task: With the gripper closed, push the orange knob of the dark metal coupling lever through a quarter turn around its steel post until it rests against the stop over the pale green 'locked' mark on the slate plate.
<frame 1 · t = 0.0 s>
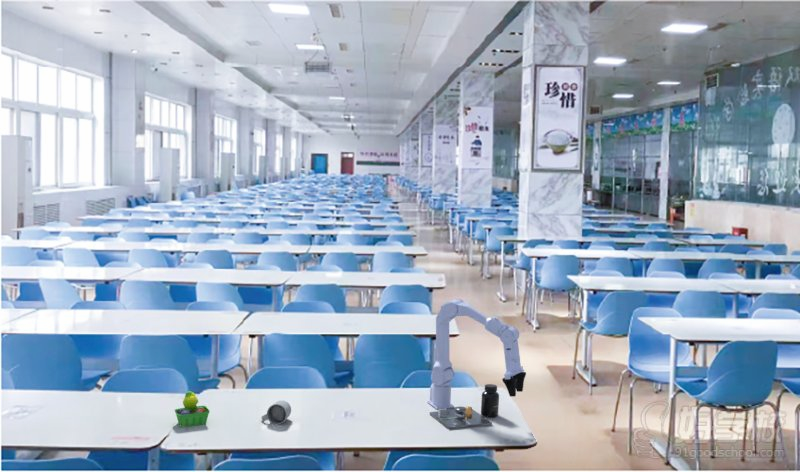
hand: (516, 393, 300), 11 cm above the table, tool pointing down, fingers open, 7 cm apart
ceramic mug: (275, 421, 291), on the table
fruit basket: (191, 423, 286), on the table
supplement bottle: (489, 415, 306), on the table
coupling: (464, 409, 296), point 5 cm above the table, hinge at 0.0°
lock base: (460, 419, 299), on the table
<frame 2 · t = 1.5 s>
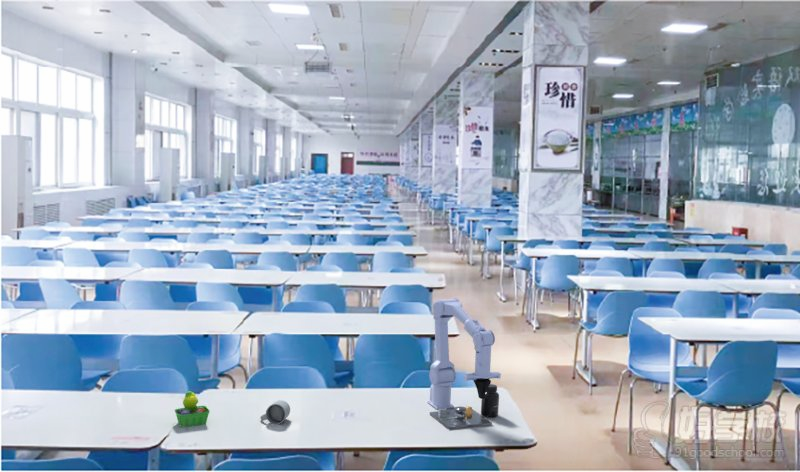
hand: (481, 397, 294), 10 cm above the table, tool pointing down, fingers closed
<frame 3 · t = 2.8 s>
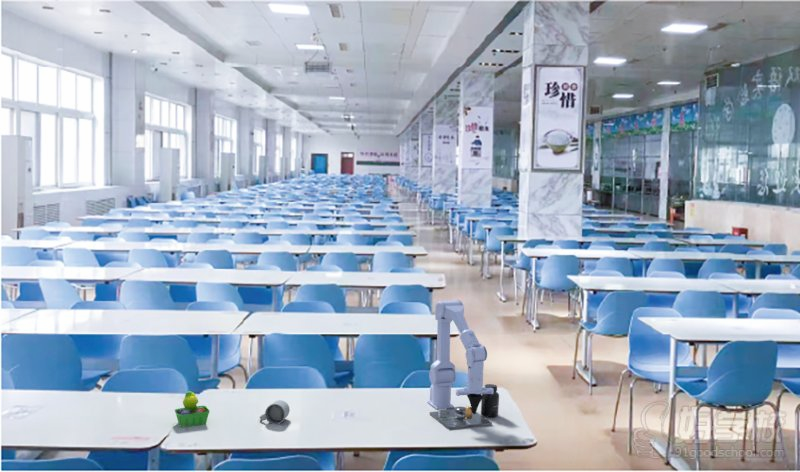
hand: (473, 413, 293), 5 cm above the table, tool pointing down, fingers closed, pressing on coupling
coupling: (464, 409, 296), point 5 cm above the table, hinge at 0.2°, touching gripper
everything else where it was.
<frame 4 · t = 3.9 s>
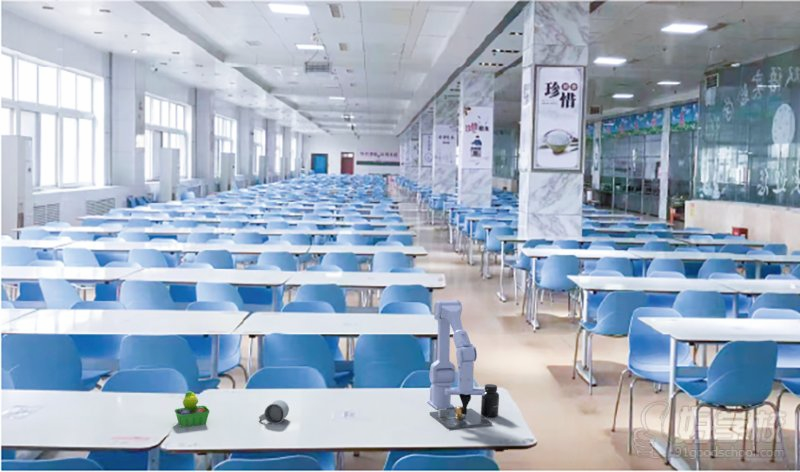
hand: (464, 413, 292), 5 cm above the table, tool pointing down, fingers closed, pressing on coupling
coupling: (460, 409, 296), point 5 cm above the table, hinge at 29.0°, touching gripper
everything else where it was.
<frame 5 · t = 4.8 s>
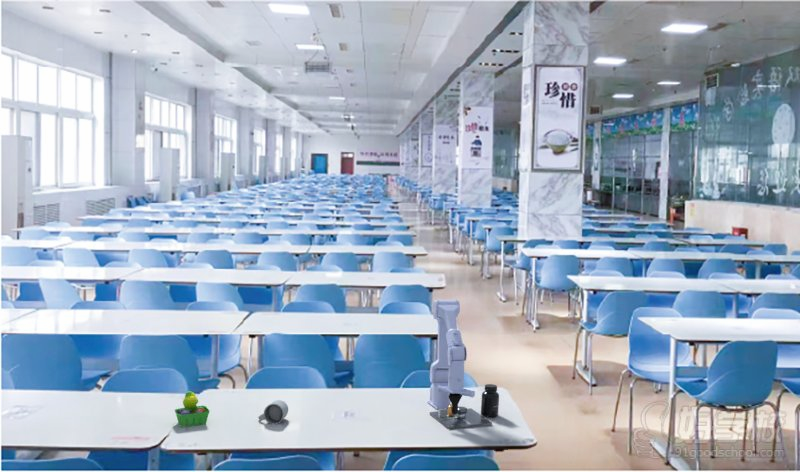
hand: (454, 413, 292), 5 cm above the table, tool pointing down, fingers closed, pressing on coupling
coupling: (456, 408, 297), point 5 cm above the table, hinge at 57.7°, touching gripper
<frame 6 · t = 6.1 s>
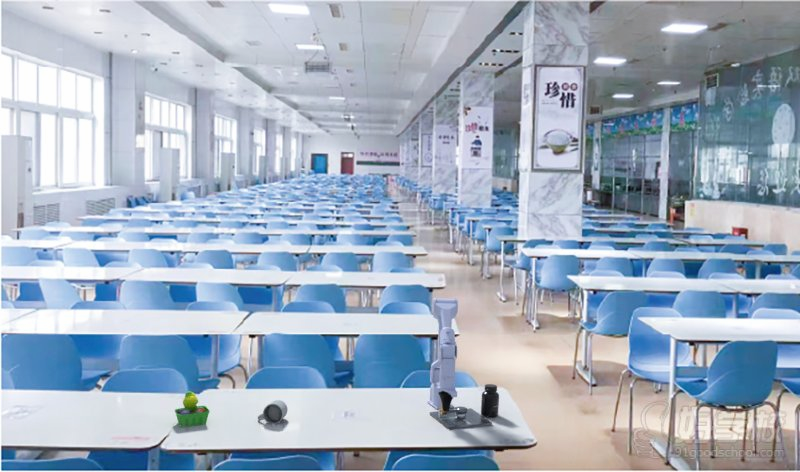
hand: (445, 410, 295), 5 cm above the table, tool pointing down, fingers closed
coupling: (453, 407, 298), point 5 cm above the table, hinge at 90.9°, touching gripper
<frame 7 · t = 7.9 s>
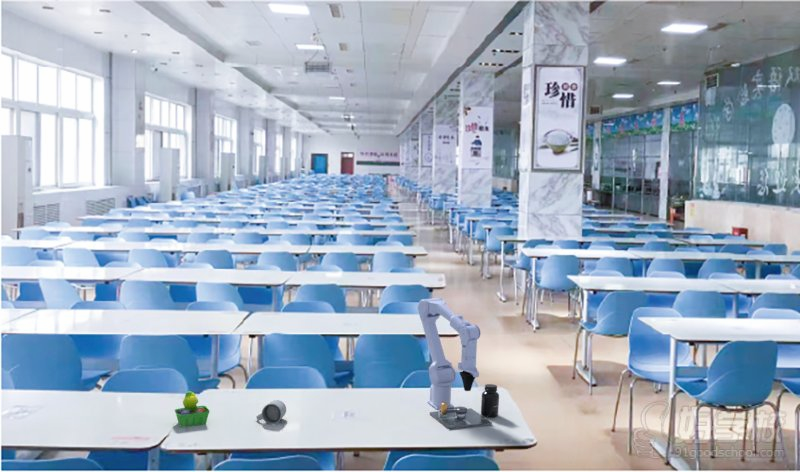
hand: (467, 390, 303), 10 cm above the table, tool pointing down, fingers closed
coupling: (453, 407, 298), point 5 cm above the table, hinge at 91.1°
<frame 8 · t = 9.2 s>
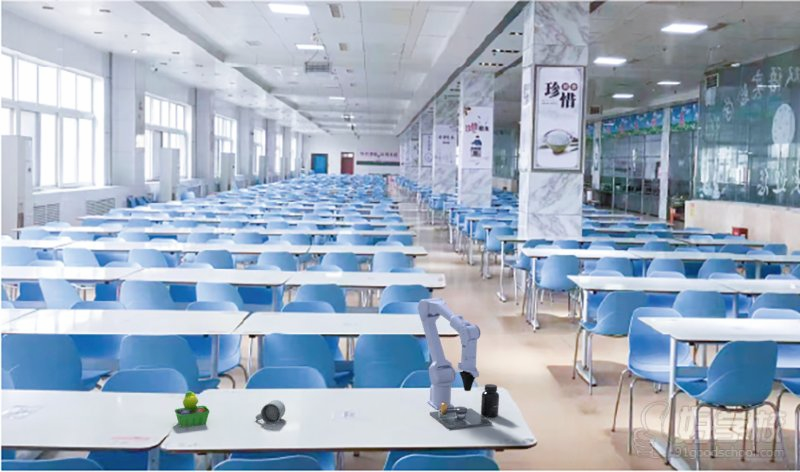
hand: (467, 390, 303), 10 cm above the table, tool pointing down, fingers closed
at the end: coupling at +91° (first picture: +0°) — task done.
